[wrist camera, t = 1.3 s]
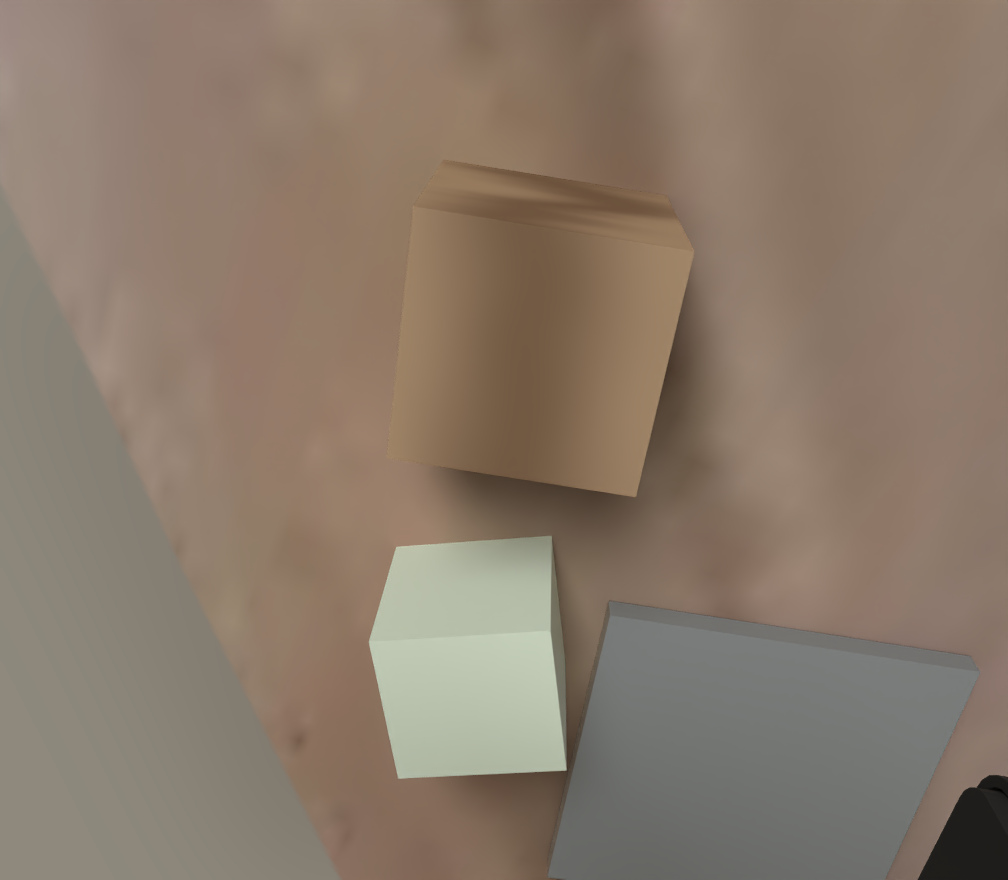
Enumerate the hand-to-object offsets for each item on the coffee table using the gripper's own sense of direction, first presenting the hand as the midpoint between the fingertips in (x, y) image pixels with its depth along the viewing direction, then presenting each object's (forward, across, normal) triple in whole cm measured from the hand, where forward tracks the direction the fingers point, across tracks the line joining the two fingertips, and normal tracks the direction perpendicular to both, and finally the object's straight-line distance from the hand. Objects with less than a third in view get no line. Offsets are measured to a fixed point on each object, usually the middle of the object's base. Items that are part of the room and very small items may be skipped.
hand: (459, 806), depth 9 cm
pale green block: (+20, -1, +11) cm, 23 cm away
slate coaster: (+19, -11, +16) cm, 27 cm away
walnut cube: (+20, -1, 0) cm, 20 cm away
